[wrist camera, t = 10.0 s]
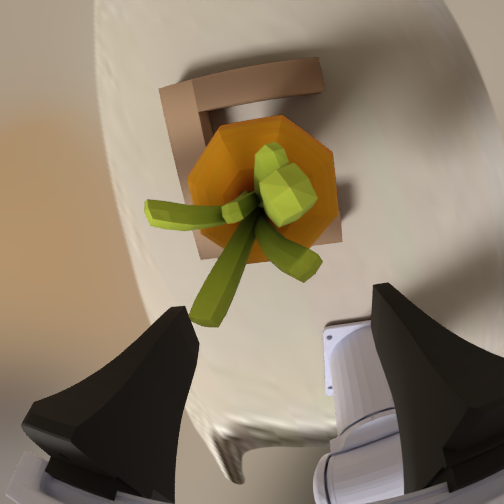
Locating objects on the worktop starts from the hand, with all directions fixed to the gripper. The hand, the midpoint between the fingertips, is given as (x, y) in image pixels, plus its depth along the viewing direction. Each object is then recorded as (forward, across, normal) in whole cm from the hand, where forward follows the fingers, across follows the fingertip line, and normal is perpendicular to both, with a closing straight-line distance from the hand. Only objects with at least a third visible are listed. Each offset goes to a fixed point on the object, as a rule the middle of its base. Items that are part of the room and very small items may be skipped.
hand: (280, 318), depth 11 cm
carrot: (+11, 0, -5) cm, 12 cm away
